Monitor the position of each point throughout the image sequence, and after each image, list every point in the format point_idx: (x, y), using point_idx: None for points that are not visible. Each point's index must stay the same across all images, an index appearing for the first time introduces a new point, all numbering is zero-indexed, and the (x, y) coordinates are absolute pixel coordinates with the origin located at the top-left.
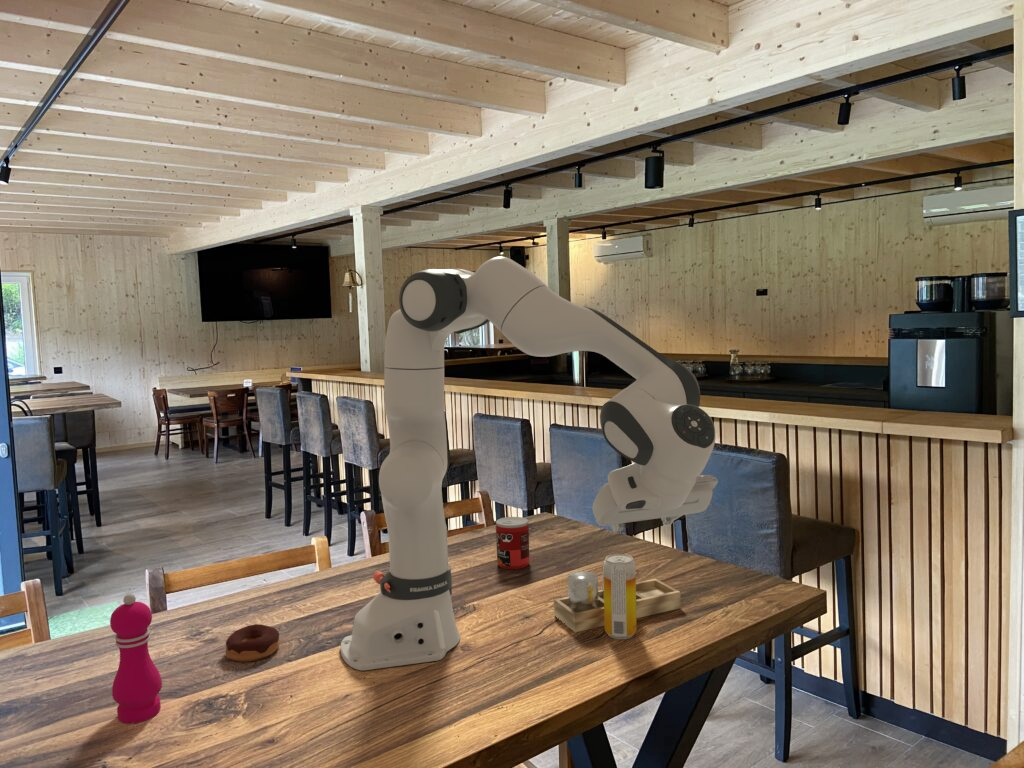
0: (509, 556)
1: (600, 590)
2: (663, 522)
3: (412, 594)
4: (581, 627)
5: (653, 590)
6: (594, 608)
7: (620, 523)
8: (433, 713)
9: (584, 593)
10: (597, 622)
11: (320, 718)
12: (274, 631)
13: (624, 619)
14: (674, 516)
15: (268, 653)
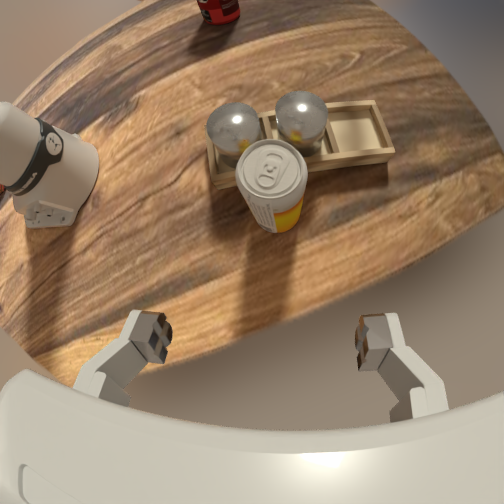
0: (209, 14)
1: None
2: (357, 336)
3: (14, 194)
4: (226, 186)
5: (364, 118)
6: None
7: (148, 353)
8: (57, 321)
9: (228, 154)
10: None
11: (12, 292)
12: None
13: (273, 228)
14: (392, 386)
15: (2, 189)
